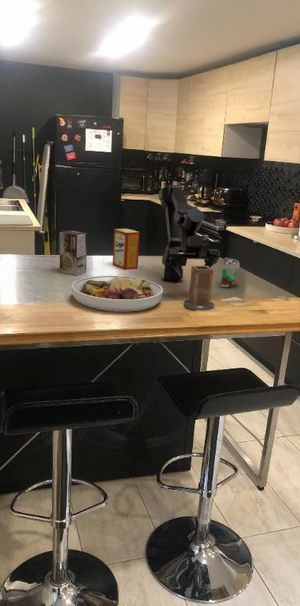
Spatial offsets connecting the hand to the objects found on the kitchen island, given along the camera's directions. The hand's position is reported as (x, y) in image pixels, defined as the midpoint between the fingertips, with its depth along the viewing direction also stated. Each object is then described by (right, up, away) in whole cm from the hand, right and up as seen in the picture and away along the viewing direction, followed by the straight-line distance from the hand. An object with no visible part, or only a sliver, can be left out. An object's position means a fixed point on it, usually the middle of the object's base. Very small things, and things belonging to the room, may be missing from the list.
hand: (195, 277), depth 167 cm
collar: (+1, -9, -4) cm, 10 cm away
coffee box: (-46, +3, +30) cm, 55 cm away
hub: (+1, -10, -4) cm, 11 cm away
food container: (+16, -2, +25) cm, 29 cm away
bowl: (-26, -8, -2) cm, 28 cm away
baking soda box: (-26, +7, +46) cm, 53 cm away
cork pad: (+14, -8, +4) cm, 17 cm away
